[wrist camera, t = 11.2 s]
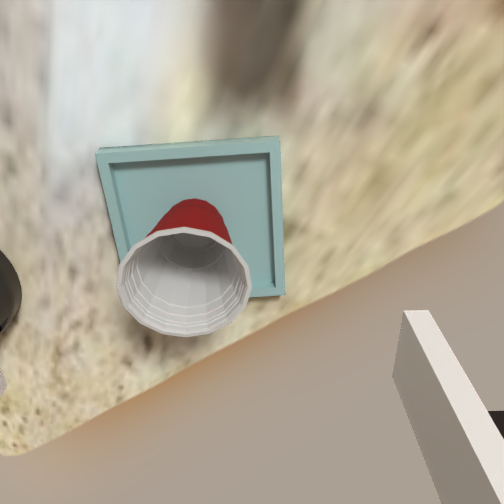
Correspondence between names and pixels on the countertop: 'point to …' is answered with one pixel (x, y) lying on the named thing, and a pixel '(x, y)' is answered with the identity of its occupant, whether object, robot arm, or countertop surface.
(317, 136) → the countertop surface
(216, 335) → the countertop surface
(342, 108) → the countertop surface
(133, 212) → the tray
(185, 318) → the plastic cup
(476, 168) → the countertop surface
